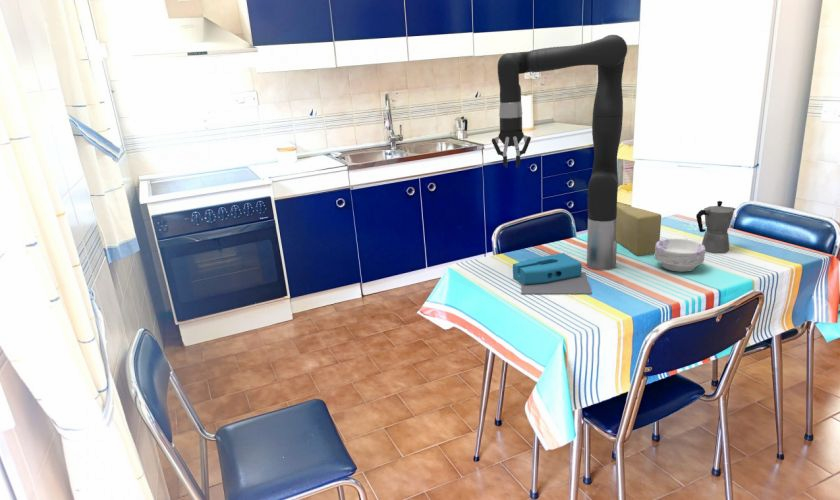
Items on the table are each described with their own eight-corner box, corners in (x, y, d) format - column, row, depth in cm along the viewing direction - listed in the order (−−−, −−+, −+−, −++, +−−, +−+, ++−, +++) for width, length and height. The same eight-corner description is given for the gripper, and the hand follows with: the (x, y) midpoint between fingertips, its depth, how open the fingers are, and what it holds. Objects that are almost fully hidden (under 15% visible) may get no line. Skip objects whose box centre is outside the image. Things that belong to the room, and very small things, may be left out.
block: (527, 287, 181) (581, 276, 186) (527, 273, 179) (581, 262, 184) (510, 275, 191) (562, 265, 197) (510, 261, 190) (562, 252, 195)
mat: (585, 273, 190) (585, 272, 190) (592, 294, 173) (592, 293, 173) (520, 273, 193) (520, 272, 193) (521, 294, 176) (521, 293, 176)
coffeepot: (721, 243, 208) (726, 196, 202) (740, 250, 199) (746, 201, 194) (684, 248, 205) (688, 201, 199) (702, 256, 196) (707, 207, 191)
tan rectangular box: (601, 240, 221) (602, 203, 216) (622, 236, 224) (624, 200, 219) (636, 257, 201) (639, 216, 196) (660, 252, 203) (662, 213, 199)
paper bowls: (709, 275, 181) (711, 252, 178) (659, 275, 183) (661, 252, 181) (695, 259, 195) (697, 237, 192) (649, 259, 198) (651, 238, 195)
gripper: (531, 113, 191) (532, 163, 196) (490, 115, 193) (491, 165, 198) (532, 115, 184) (532, 168, 189) (489, 118, 186) (490, 169, 191)
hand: (511, 166), depth 194 cm, fingers open, 3 cm apart
